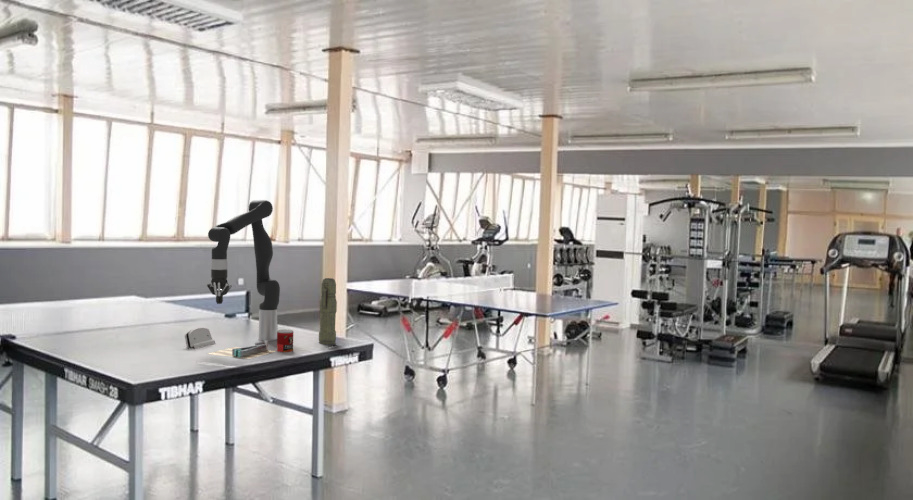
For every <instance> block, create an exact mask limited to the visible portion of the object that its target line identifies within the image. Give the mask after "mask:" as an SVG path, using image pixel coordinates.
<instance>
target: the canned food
mask: <svg viewBox="0 0 913 500" xmlns="http://www.w3.org/2000/svg"><path fill="white" fill-rule="evenodd" d="M293 351H294V330H293V329H278V330H277V339H276V352H280V353H290V352H293Z"/></svg>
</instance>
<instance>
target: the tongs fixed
mask: <svg viewBox="0 0 913 500" xmlns="http://www.w3.org/2000/svg"><path fill="white" fill-rule="evenodd" d="M263 342H265V344H262V345H256V346H257V347H253V348H250V349H246V350H240V351H238V357H241V358H240V359H244V358H243V357H247V356H251V355H254V354H258V353H261V352H265V351H268V350H269V341H268V340H264V341H263ZM238 357H237V358H238Z"/></svg>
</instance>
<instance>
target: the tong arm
mask: <svg viewBox="0 0 913 500" xmlns="http://www.w3.org/2000/svg"><path fill="white" fill-rule="evenodd" d="M264 344H265V342H264V341H260V342H255V343H254V345H249V346H244V347H242V348H236V349H232V355H233V356H238V351H240V350H246V349H250V348H253V347H257V346H261V345H264Z"/></svg>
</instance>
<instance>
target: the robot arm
mask: <svg viewBox="0 0 913 500" xmlns="http://www.w3.org/2000/svg"><path fill="white" fill-rule="evenodd" d="M273 209H274V208H273V204H272V202H271V201H269V200H266V199H256V200H255V199H254V200H251V201H250V202H249V203H248V211H247V212H243V213H242V214H238V215H236V216H234V217H232V218H230V219H229V220H227V221H225V222H223V223H219V224H217V225H215V226H213V227H211V228H210V229H209V230H208V233H207V237H208V239H209V240H210V241H211V242H215V243H217V246H214V247H212V248H211V262H210V277H211V280H210V283H207V284H206V287H207V288H208V289H209V291H210V292H211V295H213V296H215V302H216V304H217V305H220V304H223V302H224V298H223V297H224V296H225V295H227V294H228V292H229V291H230V289H231V288H232V284H229V283H228V258H227V257H228V256H227V255H228V253H227V252H228V249H229V243H230V240H231V235H235V234H236V233H238V232H239V231H241V230H243V229H244V228H246V227H248V226H250V225H251V230H252V237H253V247H254V248H253V249H254V255H255V256H254V257H255V268H256V270H255V271H256V289H257V293H258V294H259V295H260V296H263V297H264V299H263V301H262V302H261V303H259V307H258V308H259V309H258V341H261V342H264V340H268V342H269V341H270V342H271V341H272V342H273V341H277V331H278V330H279V329H278V326H279V325H278V324H279V323H278V306H279V303H280V296H281V294H280V293H281V292H280V291H281V290H280V289H281V288H280V287H281V285H280V283H279V282H278V281H277V280H276V279H271V278H270V266H271V262H272V260H273V255H274V252H273V250H274V249H273V242H272V240H271V237H270V236H269V234H268V232H267V231H266V229H265V228H264V223H263V219H265V218H269V217H270V216H271V215H272V214H273V211H274V210H273Z"/></svg>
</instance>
